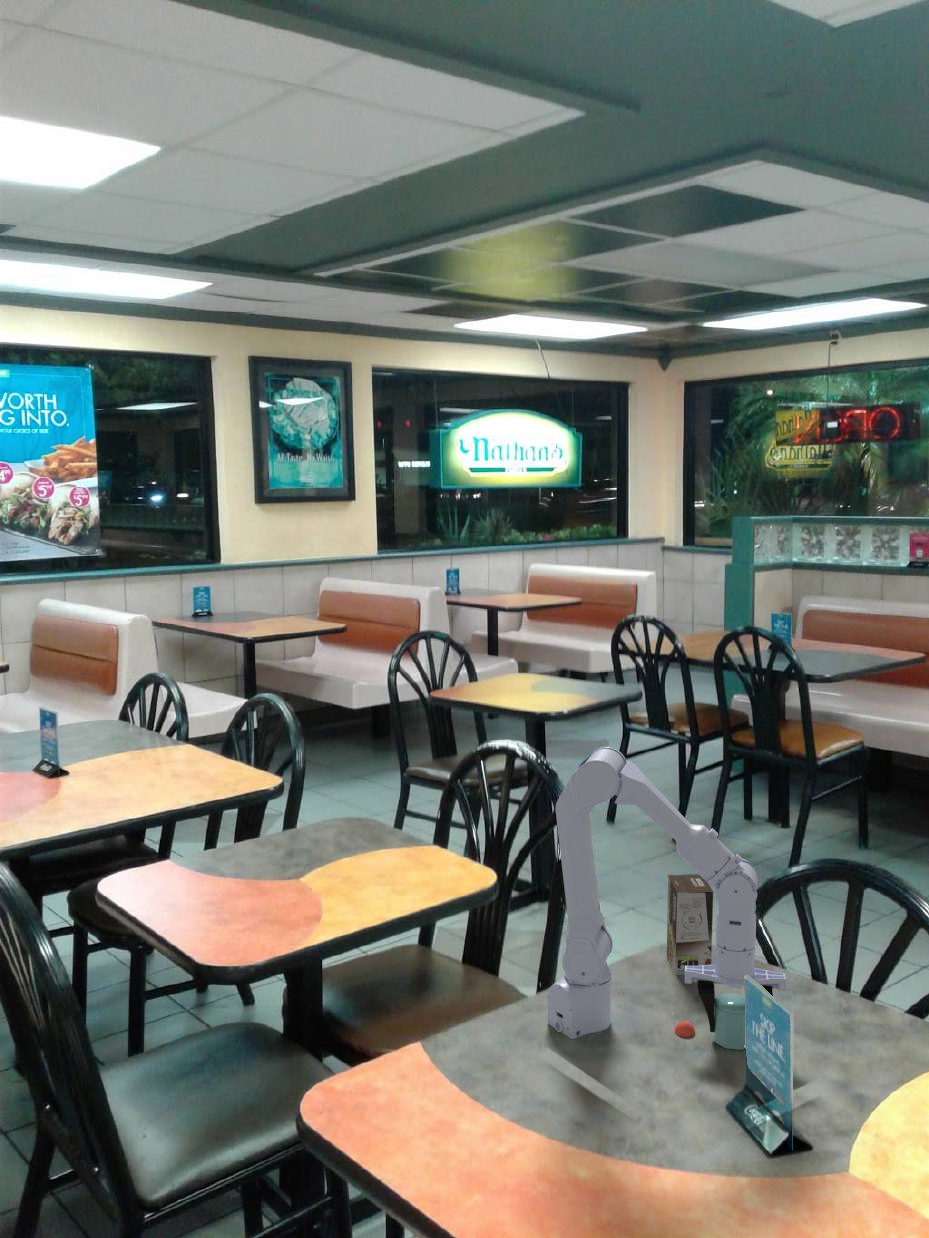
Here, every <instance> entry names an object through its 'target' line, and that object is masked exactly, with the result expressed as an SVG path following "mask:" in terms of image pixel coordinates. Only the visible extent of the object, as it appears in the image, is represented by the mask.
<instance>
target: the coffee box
mask: <svg viewBox="0 0 929 1238" xmlns="http://www.w3.org/2000/svg"><path fill="white" fill-rule="evenodd" d="M714 894H715V891H714V890H713V889H712V887H711V885H710V884H709V883H707V882H706V881H705V880H704V879H703V878H702V877H701V876H700V875H699V874H698V873H697V874H695V873H694V874H693V873H691V874H668V875H667V910H666V912H667V918H666V919H667V921H666V922H667V923H666V924H667V929H666V930H667V931H666V932H667V933H666V942H667V943H666V961H668V962H669V964H670V966H671V968H672V970H673V973H674V975H675V976H685V966H701V965H712V949H713V947H712V946H713V945H712V943H713V942H712V941H713V915H714V914H713V913H714V911H713V910H714Z"/></svg>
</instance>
